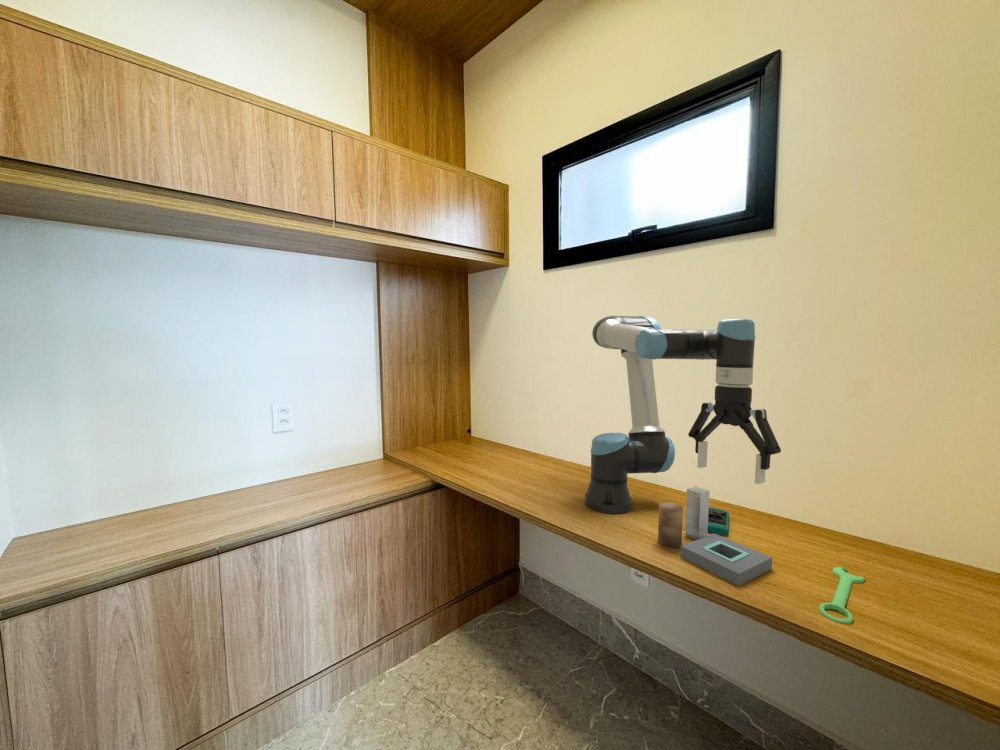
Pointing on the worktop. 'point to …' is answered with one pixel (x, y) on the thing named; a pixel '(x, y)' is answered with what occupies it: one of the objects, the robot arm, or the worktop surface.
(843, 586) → the wrench
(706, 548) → the socket plate
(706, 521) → the square bit
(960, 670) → the worktop surface
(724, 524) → the digital multimeter
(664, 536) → the round dowel
